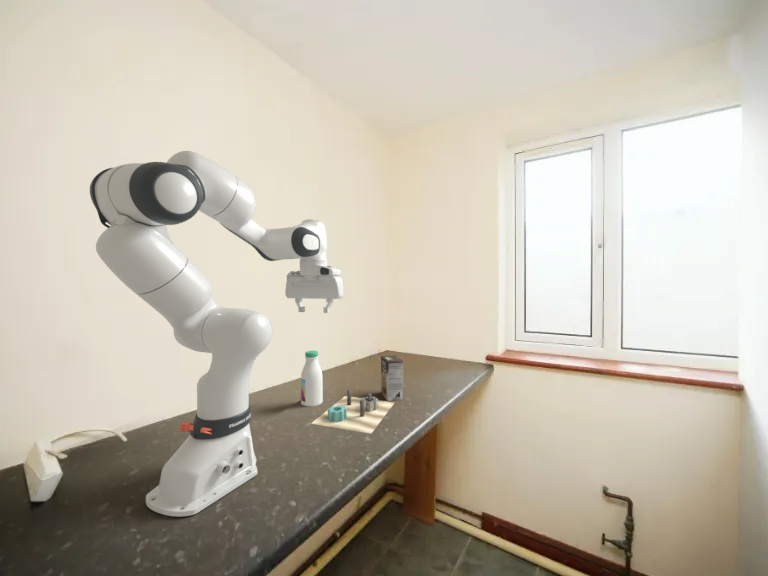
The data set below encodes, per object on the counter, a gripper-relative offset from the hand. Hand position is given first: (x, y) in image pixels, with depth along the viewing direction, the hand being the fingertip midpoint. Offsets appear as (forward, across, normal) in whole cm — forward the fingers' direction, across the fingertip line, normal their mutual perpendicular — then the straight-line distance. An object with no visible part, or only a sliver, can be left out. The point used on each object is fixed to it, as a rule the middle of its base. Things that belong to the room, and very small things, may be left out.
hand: (314, 312), depth 99 cm
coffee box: (+36, +20, +23) cm, 47 cm away
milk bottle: (+36, -6, +8) cm, 37 cm away
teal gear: (+34, +9, -1) cm, 35 cm away
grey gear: (+34, +16, +10) cm, 39 cm away
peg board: (+35, +13, +5) cm, 38 cm away
